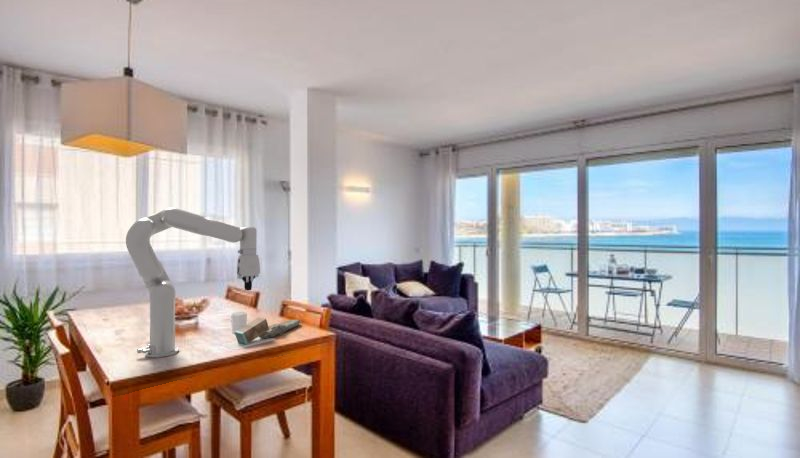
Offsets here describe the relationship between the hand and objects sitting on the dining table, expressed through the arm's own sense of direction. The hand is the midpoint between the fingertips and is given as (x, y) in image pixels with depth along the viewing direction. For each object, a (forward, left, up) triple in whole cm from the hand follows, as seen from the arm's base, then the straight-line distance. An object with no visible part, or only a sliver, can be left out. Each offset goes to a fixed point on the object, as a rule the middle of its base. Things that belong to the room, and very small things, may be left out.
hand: (248, 289), depth 199 cm
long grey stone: (+21, +3, -25) cm, 33 cm away
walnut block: (-6, -3, -22) cm, 23 cm away
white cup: (+6, +18, -25) cm, 32 cm away
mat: (-1, -3, -25) cm, 25 cm away
